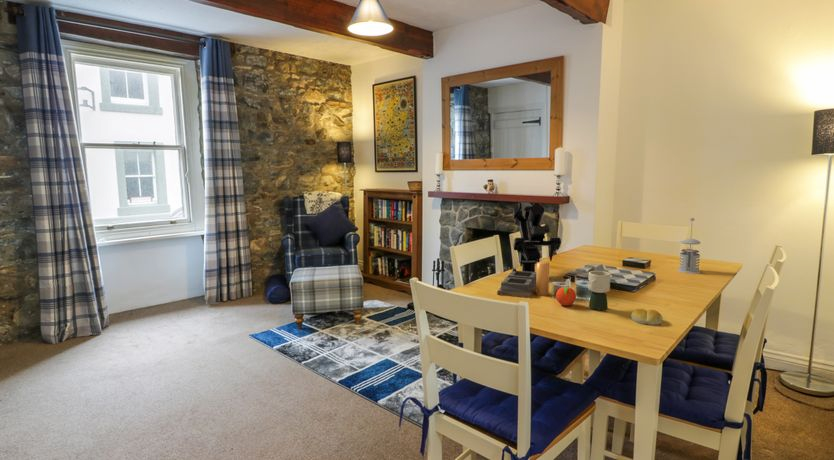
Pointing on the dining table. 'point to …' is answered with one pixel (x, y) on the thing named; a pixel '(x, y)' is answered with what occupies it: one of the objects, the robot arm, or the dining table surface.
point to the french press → (689, 257)
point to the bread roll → (647, 317)
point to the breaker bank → (518, 284)
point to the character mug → (599, 289)
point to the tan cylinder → (542, 278)
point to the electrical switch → (597, 268)
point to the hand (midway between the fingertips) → (539, 260)
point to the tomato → (566, 296)
